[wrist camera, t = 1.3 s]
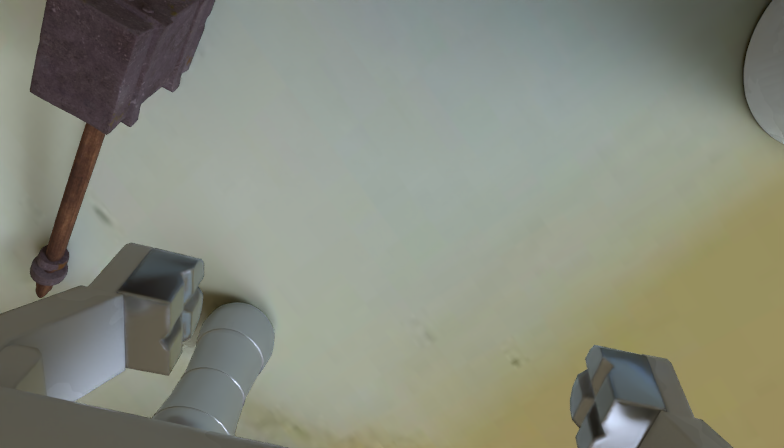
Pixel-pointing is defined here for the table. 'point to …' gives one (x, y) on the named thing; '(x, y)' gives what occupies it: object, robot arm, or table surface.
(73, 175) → the hammer
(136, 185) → the table surface
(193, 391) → the plastic bottle
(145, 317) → the robot arm
